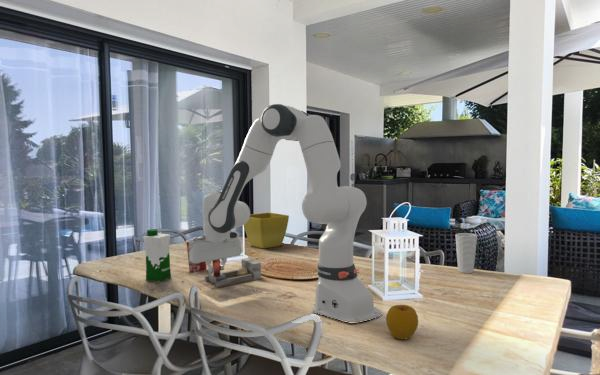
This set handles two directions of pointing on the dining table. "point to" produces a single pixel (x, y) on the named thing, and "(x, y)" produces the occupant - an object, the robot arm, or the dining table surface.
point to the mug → (195, 266)
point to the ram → (216, 272)
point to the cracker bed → (237, 276)
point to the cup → (466, 251)
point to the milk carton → (157, 255)
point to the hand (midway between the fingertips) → (216, 270)
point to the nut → (242, 271)
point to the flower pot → (266, 229)
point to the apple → (402, 321)
